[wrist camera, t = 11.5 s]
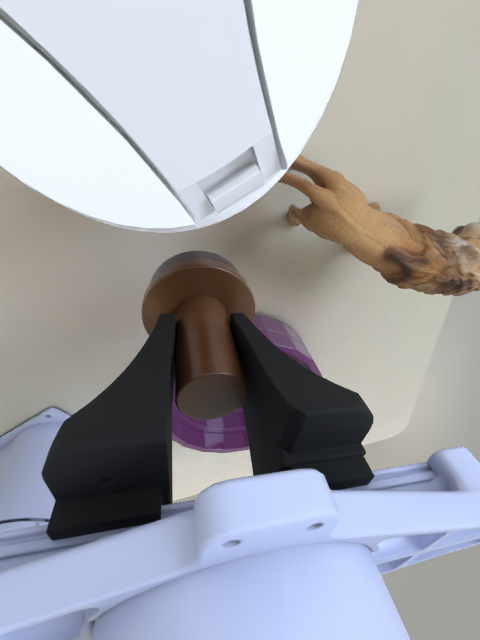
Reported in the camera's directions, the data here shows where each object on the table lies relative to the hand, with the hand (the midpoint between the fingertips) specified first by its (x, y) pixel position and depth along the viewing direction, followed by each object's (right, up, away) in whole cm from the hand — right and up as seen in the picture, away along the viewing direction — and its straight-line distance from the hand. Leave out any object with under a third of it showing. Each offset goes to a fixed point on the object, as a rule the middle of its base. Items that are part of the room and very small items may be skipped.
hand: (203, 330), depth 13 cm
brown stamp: (-1, +2, +2) cm, 3 cm away
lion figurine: (+9, +9, +8) cm, 15 cm away
